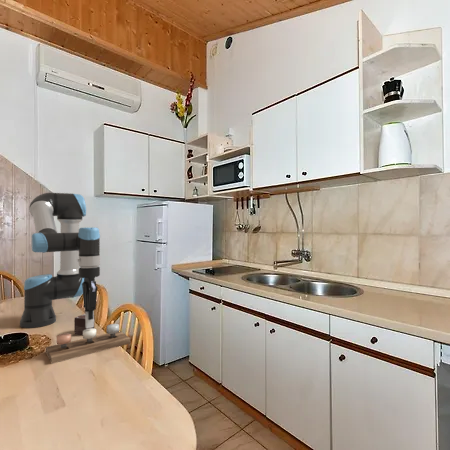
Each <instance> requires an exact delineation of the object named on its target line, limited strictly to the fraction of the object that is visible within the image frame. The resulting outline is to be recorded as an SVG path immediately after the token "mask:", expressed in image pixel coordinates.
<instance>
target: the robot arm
mask: <svg viewBox="0 0 450 450" xmlns="http://www.w3.org/2000/svg"><path fill="white" fill-rule="evenodd" d="M28 210H29V213H30V215H31V217H32V218H33V224H34V229H35V230H34V231H35V233H32V234H31V241H30V242H31V251H32V252H34V253H53V252H54V253H58V252H59V253H60V256H59V257H60V259H59V260H60V261H59V264H60V265H59V266H60V267H59V270H58V271H57V272H56V276H53V275H52V273H46V274H39V275H35V276H30V277H28V278H27V279H25V281H24V285H23V286H24V287H23V291H24V295H23V296H24V297H23V298H24V299H23V300H24V303H23V304H24V305H23V307H24V308H23V311H22V315H21V318H20V320H19V326H20V327H21V328H25V329H34V328H40V327H45V326H46V327H47V326H49V325H52V324H54V323H56V321H57V315H56V312H55V310H54V307H53V301H55V300H56V301H57V300H64V299H73V298H77V297H81V296H82V299H83V308H84V314H85V321H86V328H91V327H94V328H95V311H96V310H97V309H96V308H97V296H98V295H97V294H98V293H97V292H98V289H99V288H98V286H97V281H96V279H95V278H98V277H99V276H100V275H101V269H100V268H101V267H100V266H101V256H100V252H101V251H100V250H101V249H100V247H101V246H100V244H101V243H100V238H101V235H100V229H99V228H98V227H80V223H81V222H82V221H83V218H84V217H86V216H87V204H86V201H85V197H84V196H83V195H82V194H79V193H70V192H69V193H68V192H66V193H65V192H64V193H63V192H62V193H61V192H44V193H42V194H41V193H40V194H39V195H37V196H35V197H34V198H33V200H31V202H30V204H29V209H28ZM54 217H56V219H57V221H58V222H59V223H60V232H58V230H57V226H56V222H55V220H54Z"/></svg>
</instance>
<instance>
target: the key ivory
mask: <svg viewBox="0 0 450 450" xmlns="http://www.w3.org/2000/svg"><path fill="white" fill-rule="evenodd" d="M96 336H97V328H95V327H94V328H90V329H86V330H84V331H83V335H82V339H87V343H90V342H92V338H94V337H96Z"/></svg>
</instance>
